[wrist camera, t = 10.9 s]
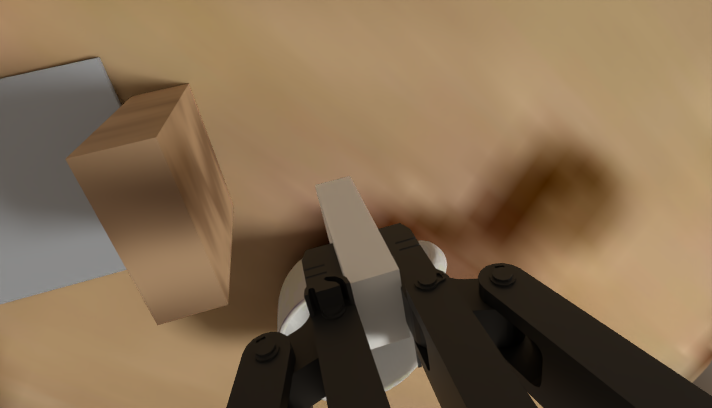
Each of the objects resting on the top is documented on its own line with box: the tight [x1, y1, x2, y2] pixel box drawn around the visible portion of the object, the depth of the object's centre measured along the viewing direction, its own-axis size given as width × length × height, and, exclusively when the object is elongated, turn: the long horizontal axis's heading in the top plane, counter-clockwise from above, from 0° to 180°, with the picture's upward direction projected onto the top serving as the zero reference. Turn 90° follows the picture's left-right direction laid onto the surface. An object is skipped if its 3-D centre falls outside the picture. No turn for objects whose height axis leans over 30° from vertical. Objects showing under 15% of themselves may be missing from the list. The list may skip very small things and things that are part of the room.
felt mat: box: [0, 57, 127, 304], centre depth 27 cm, size 14×16×1 cm
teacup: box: [277, 241, 447, 401], centre depth 32 cm, size 14×11×8 cm
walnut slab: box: [65, 83, 234, 325], centre depth 24 cm, size 9×4×11 cm, turn 10°
